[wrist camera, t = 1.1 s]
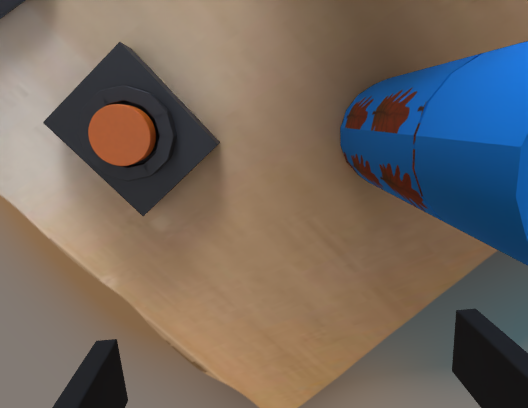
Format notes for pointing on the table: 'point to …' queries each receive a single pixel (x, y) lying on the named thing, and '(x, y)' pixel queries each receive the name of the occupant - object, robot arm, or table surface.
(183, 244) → the table surface
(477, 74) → the thermos
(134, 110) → the button
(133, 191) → the black button base
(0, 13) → the dial panel
